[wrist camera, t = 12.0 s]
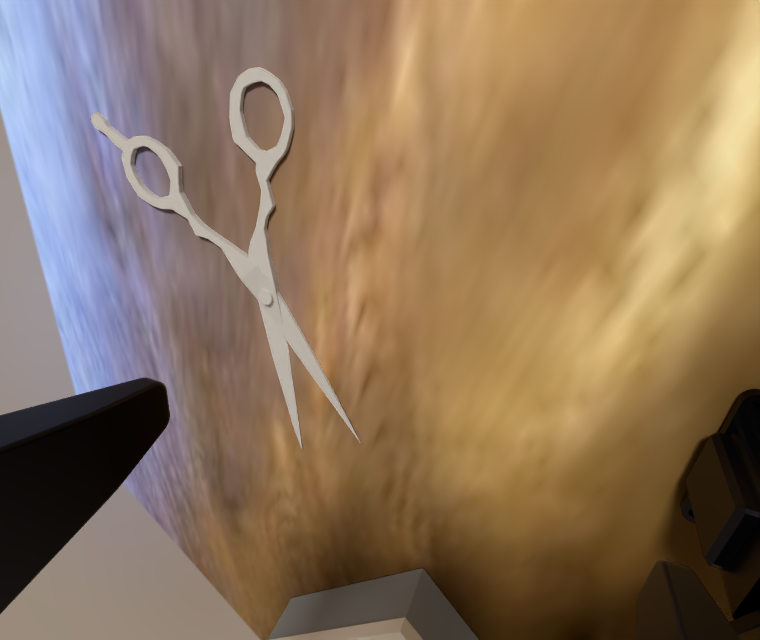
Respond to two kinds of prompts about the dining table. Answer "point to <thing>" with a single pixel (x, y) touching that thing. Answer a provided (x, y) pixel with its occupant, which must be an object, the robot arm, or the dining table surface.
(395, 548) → the dining table surface
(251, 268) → the scissors
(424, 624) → the box
